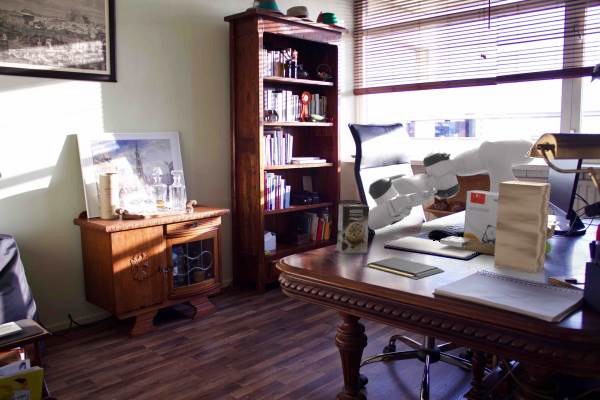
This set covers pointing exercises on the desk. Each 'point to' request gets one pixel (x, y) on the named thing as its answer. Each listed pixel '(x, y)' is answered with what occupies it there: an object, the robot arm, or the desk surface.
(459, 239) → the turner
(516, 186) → the stand
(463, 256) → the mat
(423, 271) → the grey book
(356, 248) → the cookie box
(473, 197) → the hard drive box
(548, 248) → the snail figurine
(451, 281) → the desk surface
